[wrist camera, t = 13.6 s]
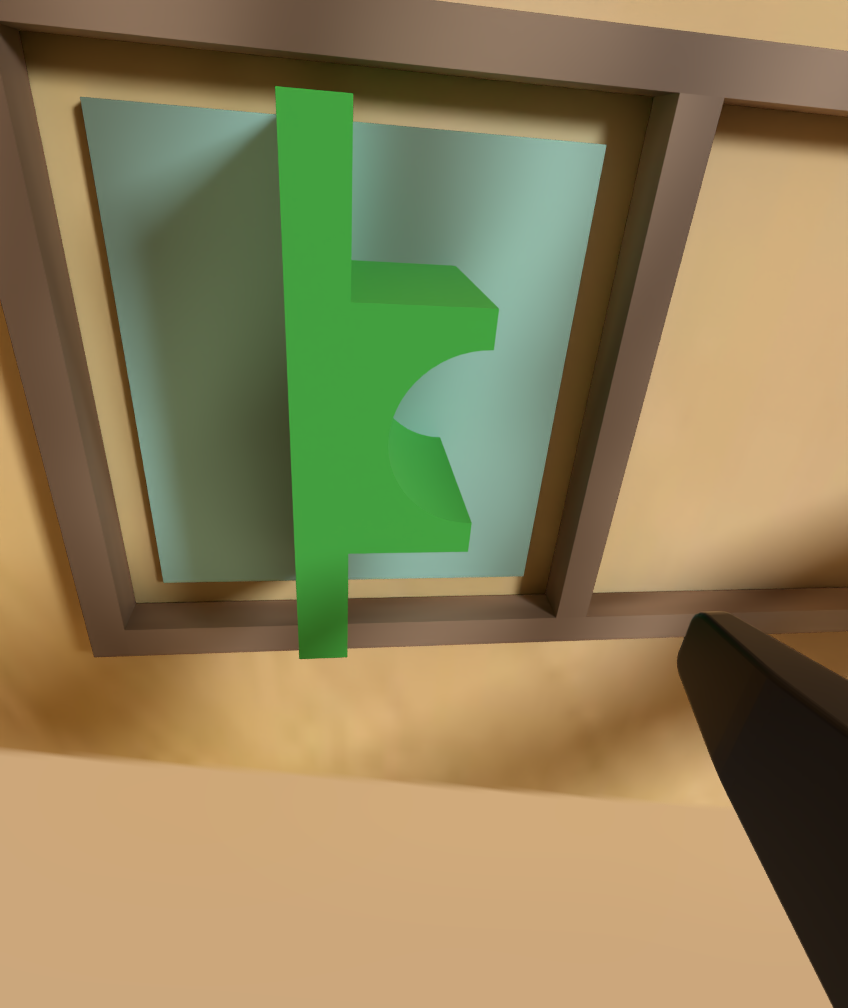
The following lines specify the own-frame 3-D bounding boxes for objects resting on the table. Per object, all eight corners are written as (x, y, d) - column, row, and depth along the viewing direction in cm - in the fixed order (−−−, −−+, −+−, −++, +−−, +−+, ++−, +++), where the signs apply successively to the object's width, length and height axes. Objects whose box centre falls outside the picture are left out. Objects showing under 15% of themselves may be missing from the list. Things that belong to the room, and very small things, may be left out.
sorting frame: (1224, 107, 15) (1288, 104, 14) (919, 606, 23) (946, 627, 22) (-56, -46, 11) (-96, -65, 10) (106, 629, 19) (93, 657, 18)
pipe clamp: (430, 547, 19) (455, 655, 15) (305, 548, 18) (298, 661, 14) (469, 115, 13) (527, 107, 9) (291, 99, 13) (272, 84, 9)
